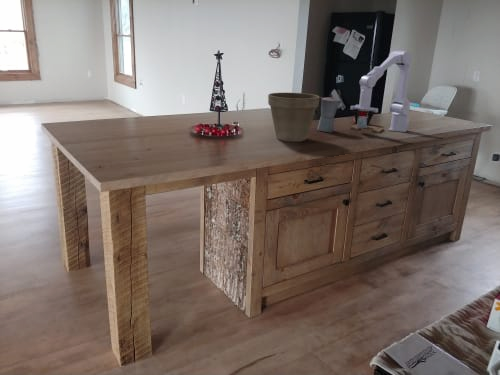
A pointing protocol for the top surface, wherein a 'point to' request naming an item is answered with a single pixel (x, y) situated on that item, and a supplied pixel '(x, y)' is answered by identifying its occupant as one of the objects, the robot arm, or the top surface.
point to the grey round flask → (362, 122)
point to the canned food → (361, 114)
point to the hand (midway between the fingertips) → (362, 124)
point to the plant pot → (292, 114)
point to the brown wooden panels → (374, 129)
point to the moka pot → (327, 113)
